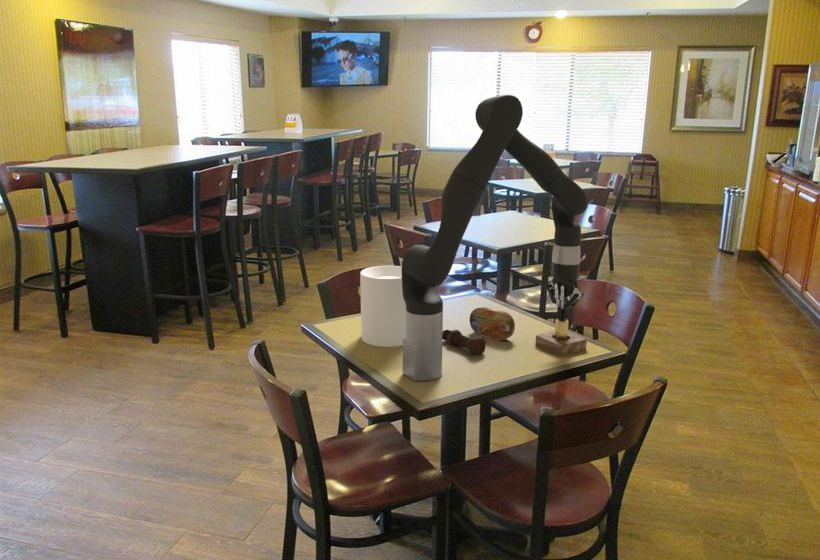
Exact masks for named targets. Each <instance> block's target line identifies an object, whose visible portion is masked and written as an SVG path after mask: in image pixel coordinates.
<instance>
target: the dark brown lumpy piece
mask: <svg viewBox="0 0 820 560" xmlns="http://www.w3.org/2000/svg"><path fill="white" fill-rule="evenodd" d="M442 340H443V341H447V343H448V345H449V346H451V347H457V346H458V347H461V348H463V349H466V350H468V352H469V354H470V356H472V357H479V356H482V355H483V354H484V353H485V350H486V348H487V347H486V346H487V345H486V344H487V343H486V341H485V339H484V338H483V336H481V335H478V336H477V337H476V336H475V337H473V338H471V337H468V336H466V335H463V334H462V332H461V331H460V330H459V329H453V330H449V329H445V330H442Z"/></svg>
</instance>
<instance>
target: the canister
mask: <svg viewBox="0 0 820 560" xmlns="http://www.w3.org/2000/svg"><path fill="white" fill-rule="evenodd" d="M359 276H360V277H359V280H360V281H359V283H360V326H361V327H360V328H361V331H360V332H361V333H360V334H361V335H360V336H361V340H362V342H364V343H365V344H367V345H371V346H375V347H381V348H382V347H383V348H384V347H386V348H389V347H390V348H391V347H395V348H396V347H401V346H402V347H403V339H404V338H406V303H405V301H404V298H403V292H402V265H401V266H399V265H377V266H370V267H366V268H364V269H362V270H361V271H360V273H359Z"/></svg>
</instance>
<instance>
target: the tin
mask: <svg viewBox="0 0 820 560" xmlns="http://www.w3.org/2000/svg"><path fill="white" fill-rule="evenodd" d="M469 324H470V325H469V326H470V327H471V329H472V332H474V333H475V334H477V335H478V334H479V335H478V336H482V335H483V336H482V337H485V336H487V337H486V338H489V337H490V339H493V340H496V339H497V340H496V341H505V340H506V339H509V338H510V337H512V336H513V335H514V334H515V330H516V329H515V328H516V325H515V324H516V323H515V320H514V318H513V316H512V315H511V314H509V313H508V312H507V311H503V310H498V309H493V308H489V307H486V306H483V307H477V308H474V309H473V310H471V312H470V315H469Z"/></svg>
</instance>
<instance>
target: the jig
mask: <svg viewBox="0 0 820 560" xmlns="http://www.w3.org/2000/svg"><path fill="white" fill-rule="evenodd" d="M554 336H555V330H552V331H549V332H548V331H547V332H543V333H539V334H535V346H537V347H538V348H541V349H544V350H546V351H549V352H551V353H553V354H555V355H557V356H560V357H561V356H564V355H568V354H573V353H577V352H581V351H585V350H587V344H588V343H587V341H588V340H587V339H588V338H585V337H582V336H580V335H577V334H575V333H573V332H570V331H568V337H567V340H557V339H554Z"/></svg>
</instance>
